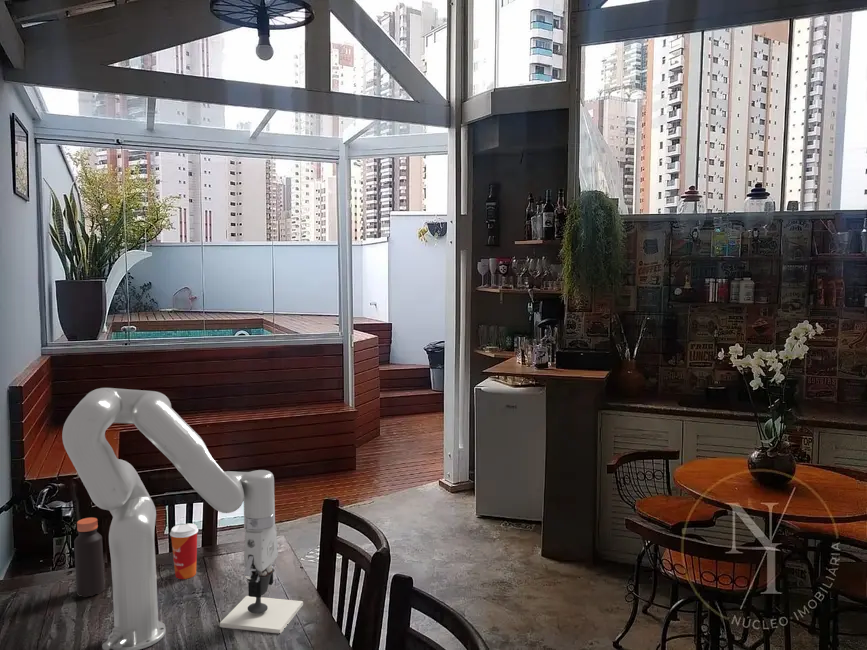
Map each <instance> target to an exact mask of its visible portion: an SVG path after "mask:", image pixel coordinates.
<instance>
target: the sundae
mask: <svg viewBox="0 0 867 650" xmlns="http://www.w3.org/2000/svg"><path fill="white" fill-rule="evenodd" d="M253 568H256V567H255V566H253ZM274 572H275V569H274V567H273V568H272V566H271V564H270V565H269V566H268V567H267V568H266V569H265V570H264V571H261V573H260V580H259V581H261V597H262V596H263V595H265V593H267V592H268V588H269V586H270V585H269V581H270V577H271V574H272V573H273V574H274ZM256 573H257V572H256V571H252V574H254V575H255V576H256ZM261 597H256V602H255V603H253V604H251V605H249V606H248V611H249V612H251V613H263V612H265V611H266V610H267V609H268V607H267V605H266V604H264V603H261Z"/></svg>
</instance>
